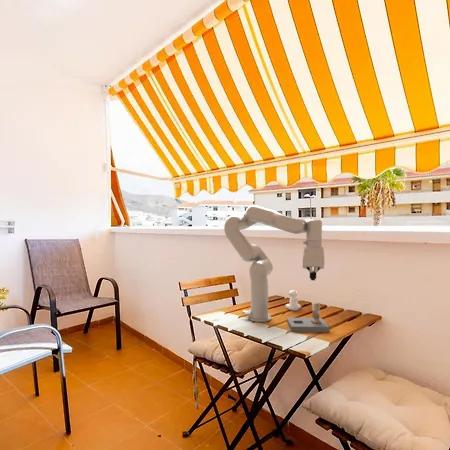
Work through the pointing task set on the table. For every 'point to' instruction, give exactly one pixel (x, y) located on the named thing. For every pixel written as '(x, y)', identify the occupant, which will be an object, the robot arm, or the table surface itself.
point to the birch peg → (316, 313)
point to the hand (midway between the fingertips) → (312, 279)
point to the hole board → (307, 325)
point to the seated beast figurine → (293, 301)
